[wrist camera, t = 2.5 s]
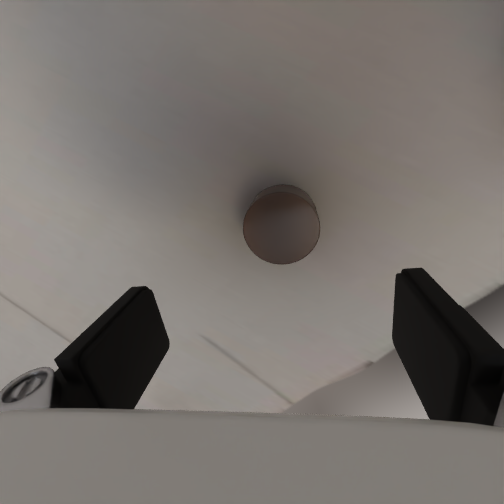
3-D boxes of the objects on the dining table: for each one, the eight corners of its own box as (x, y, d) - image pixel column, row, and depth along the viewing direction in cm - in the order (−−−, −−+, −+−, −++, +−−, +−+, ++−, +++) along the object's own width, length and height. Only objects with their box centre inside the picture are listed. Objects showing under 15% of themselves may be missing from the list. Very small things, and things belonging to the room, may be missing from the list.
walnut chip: (315, 179, 18) (317, 187, 16) (319, 247, 20) (322, 261, 18) (243, 189, 19) (236, 197, 17) (253, 252, 21) (249, 267, 19)
